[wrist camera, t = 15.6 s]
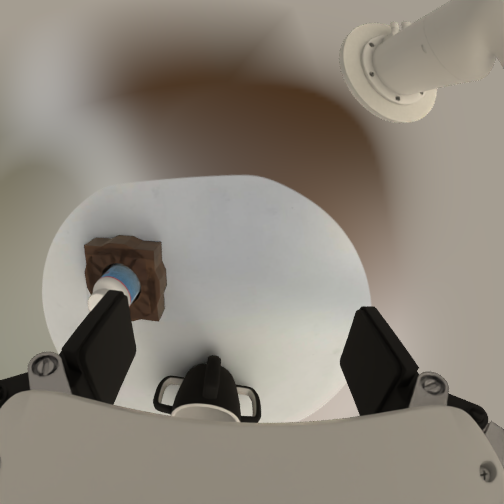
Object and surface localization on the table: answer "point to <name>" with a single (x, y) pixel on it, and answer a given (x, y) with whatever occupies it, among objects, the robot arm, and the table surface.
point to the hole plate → (139, 261)
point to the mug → (208, 395)
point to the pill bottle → (116, 284)
